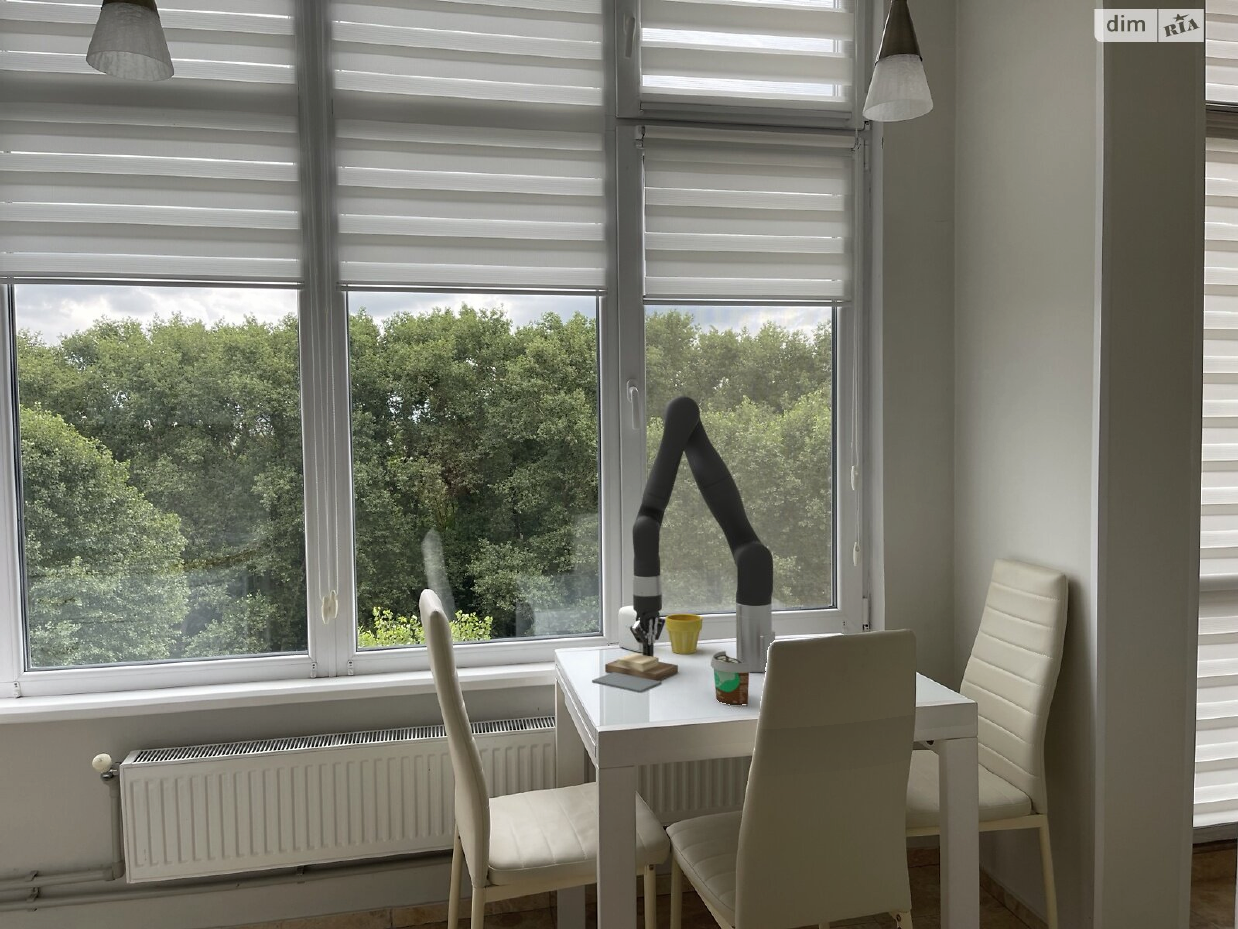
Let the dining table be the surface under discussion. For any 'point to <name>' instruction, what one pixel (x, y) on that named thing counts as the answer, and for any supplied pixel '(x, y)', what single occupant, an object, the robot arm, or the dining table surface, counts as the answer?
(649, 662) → the cream flat block
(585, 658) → the dining table surface
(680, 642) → the plant pot
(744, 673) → the food container
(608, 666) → the brown wooden block
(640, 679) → the mat
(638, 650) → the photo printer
